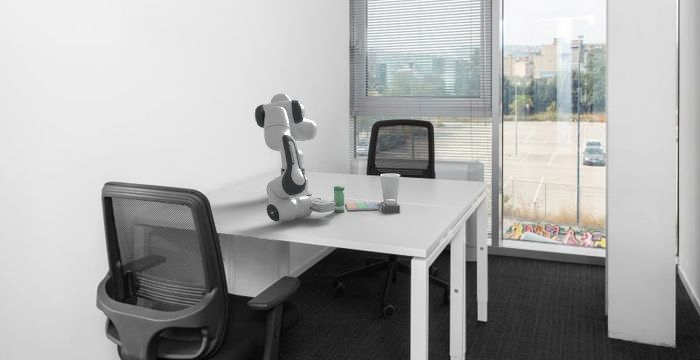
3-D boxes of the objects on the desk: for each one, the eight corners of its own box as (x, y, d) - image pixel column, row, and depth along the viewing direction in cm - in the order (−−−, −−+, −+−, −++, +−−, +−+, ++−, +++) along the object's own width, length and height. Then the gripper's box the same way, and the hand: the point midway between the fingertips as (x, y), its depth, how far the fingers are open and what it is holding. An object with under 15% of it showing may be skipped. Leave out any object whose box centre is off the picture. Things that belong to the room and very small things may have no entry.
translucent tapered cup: (382, 204, 254) (383, 176, 252) (378, 200, 263) (378, 173, 261) (402, 203, 256) (402, 176, 253) (396, 199, 264) (397, 173, 262)
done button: (384, 206, 240) (384, 199, 240) (394, 206, 241) (394, 198, 240) (386, 208, 236) (386, 201, 235) (396, 208, 236) (396, 200, 236)
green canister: (333, 211, 240) (333, 186, 238) (344, 210, 240) (343, 185, 239) (334, 213, 235) (334, 187, 234) (345, 212, 236) (344, 187, 234)
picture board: (345, 204, 253) (345, 203, 253) (374, 203, 255) (374, 202, 255) (348, 211, 239) (348, 209, 239) (379, 210, 240) (379, 208, 240)
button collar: (381, 209, 242) (381, 203, 241) (396, 209, 242) (396, 202, 242) (383, 213, 235) (383, 206, 234) (399, 212, 235) (399, 205, 235)
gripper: (319, 202, 215) (344, 197, 224) (286, 195, 229) (311, 191, 238) (320, 217, 216) (344, 212, 225) (287, 210, 230) (311, 205, 239)
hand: (327, 201), depth 232 cm, fingers open, 8 cm apart
